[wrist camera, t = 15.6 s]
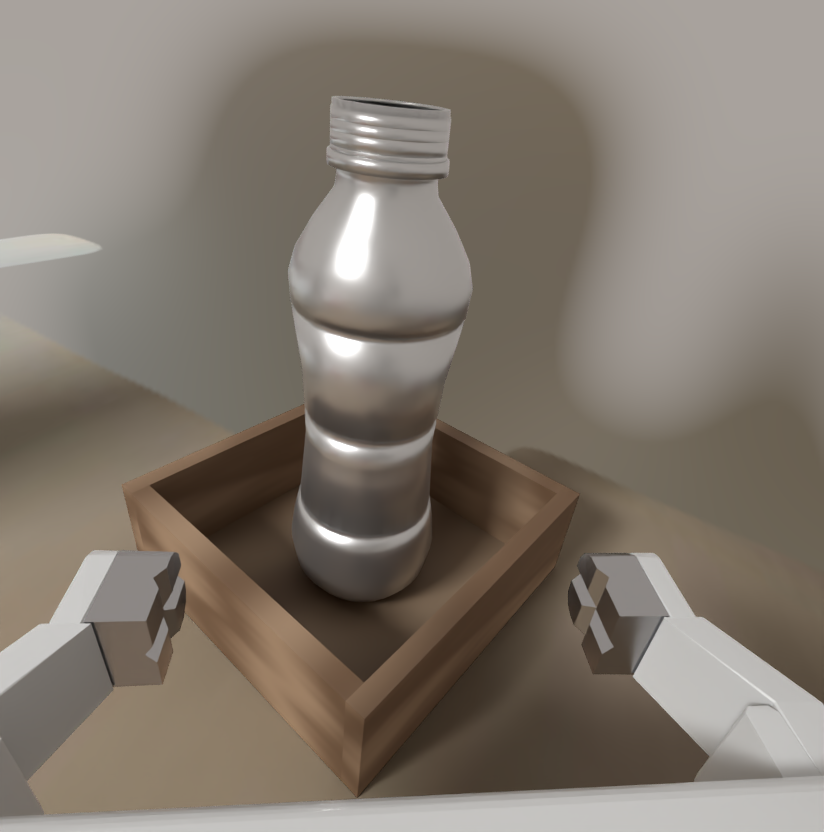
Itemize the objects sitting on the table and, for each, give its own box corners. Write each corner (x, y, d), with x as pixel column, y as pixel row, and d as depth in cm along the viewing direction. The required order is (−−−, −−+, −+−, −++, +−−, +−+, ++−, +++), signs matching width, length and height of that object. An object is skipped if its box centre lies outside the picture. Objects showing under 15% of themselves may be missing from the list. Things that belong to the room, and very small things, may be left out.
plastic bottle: (372, 502, 31) (404, 96, 20) (453, 581, 27) (547, 121, 16) (268, 550, 27) (238, 85, 17) (343, 650, 23) (369, 113, 12)
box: (141, 564, 26) (121, 484, 23) (357, 445, 36) (361, 378, 33) (357, 797, 19) (364, 719, 16) (555, 566, 29) (579, 494, 26)
